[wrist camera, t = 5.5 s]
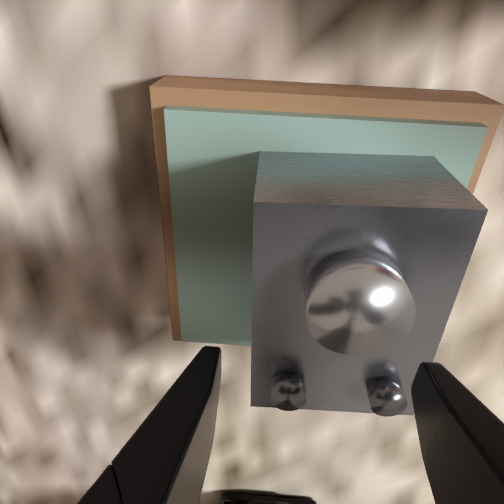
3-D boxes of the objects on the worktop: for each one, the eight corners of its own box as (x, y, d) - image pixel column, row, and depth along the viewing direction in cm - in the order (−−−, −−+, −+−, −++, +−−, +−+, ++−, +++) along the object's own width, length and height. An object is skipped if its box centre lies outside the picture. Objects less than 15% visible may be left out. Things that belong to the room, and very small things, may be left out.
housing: (386, 334, 15) (422, 445, 11) (256, 328, 15) (248, 435, 12) (433, 156, 11) (511, 232, 8) (259, 151, 12) (250, 223, 8)
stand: (400, 324, 18) (416, 366, 16) (182, 308, 18) (170, 349, 16) (475, 91, 13) (514, 109, 11) (165, 75, 13) (144, 89, 11)
